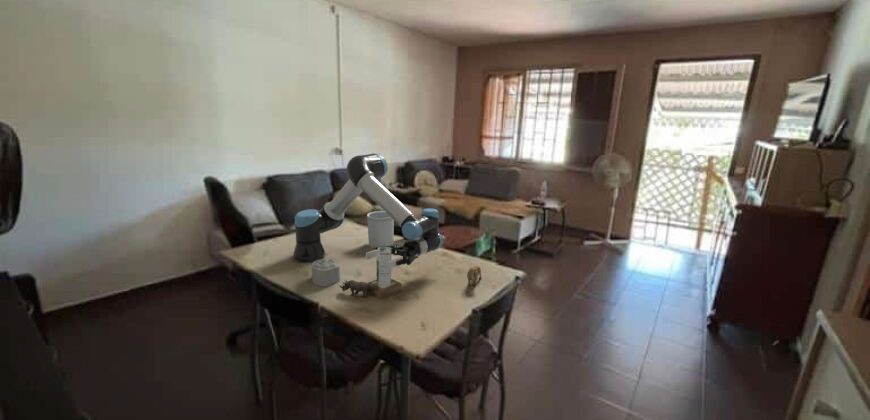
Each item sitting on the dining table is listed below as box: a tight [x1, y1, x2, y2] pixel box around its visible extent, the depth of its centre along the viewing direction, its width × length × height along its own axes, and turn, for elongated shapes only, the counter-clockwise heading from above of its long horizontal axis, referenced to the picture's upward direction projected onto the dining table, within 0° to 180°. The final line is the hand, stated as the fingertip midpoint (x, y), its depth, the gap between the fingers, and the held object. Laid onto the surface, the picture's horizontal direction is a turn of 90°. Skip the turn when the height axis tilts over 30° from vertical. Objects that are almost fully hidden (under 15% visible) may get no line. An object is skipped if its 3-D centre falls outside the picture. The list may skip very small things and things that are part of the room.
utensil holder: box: [366, 210, 395, 249], centre depth 212 cm, size 15×15×18 cm
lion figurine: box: [466, 265, 482, 287], centre depth 167 cm, size 15×5×9 cm, turn 166°
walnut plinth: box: [367, 278, 402, 300], centre depth 157 cm, size 10×10×4 cm
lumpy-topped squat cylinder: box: [311, 257, 341, 287], centre depth 167 cm, size 10×13×9 cm
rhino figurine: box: [339, 279, 372, 299], centre depth 154 cm, size 4×14×6 cm, turn 72°
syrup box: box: [376, 247, 392, 285], centre depth 155 cm, size 6×6×14 cm
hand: (377, 260), depth 151 cm, fingers open, 13 cm apart
